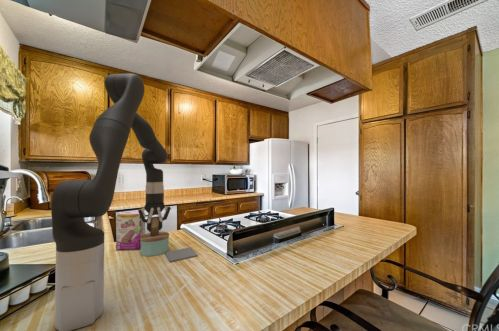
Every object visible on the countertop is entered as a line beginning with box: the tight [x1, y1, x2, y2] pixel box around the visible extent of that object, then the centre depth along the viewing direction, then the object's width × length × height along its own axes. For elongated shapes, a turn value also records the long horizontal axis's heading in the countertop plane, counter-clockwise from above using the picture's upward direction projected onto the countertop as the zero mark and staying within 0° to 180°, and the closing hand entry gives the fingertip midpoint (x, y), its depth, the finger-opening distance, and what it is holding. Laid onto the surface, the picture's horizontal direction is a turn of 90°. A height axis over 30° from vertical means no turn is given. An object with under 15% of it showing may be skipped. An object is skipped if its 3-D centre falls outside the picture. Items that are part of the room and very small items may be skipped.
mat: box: [165, 246, 199, 263], centre depth 90 cm, size 11×11×1 cm
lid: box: [140, 216, 170, 242], centre depth 95 cm, size 12×12×9 cm
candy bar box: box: [115, 211, 146, 251], centre depth 99 cm, size 11×5×16 cm, turn 92°
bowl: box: [139, 236, 170, 257], centre depth 94 cm, size 11×11×6 cm
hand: (154, 230), depth 95 cm, fingers closed on lid, 3 cm apart
